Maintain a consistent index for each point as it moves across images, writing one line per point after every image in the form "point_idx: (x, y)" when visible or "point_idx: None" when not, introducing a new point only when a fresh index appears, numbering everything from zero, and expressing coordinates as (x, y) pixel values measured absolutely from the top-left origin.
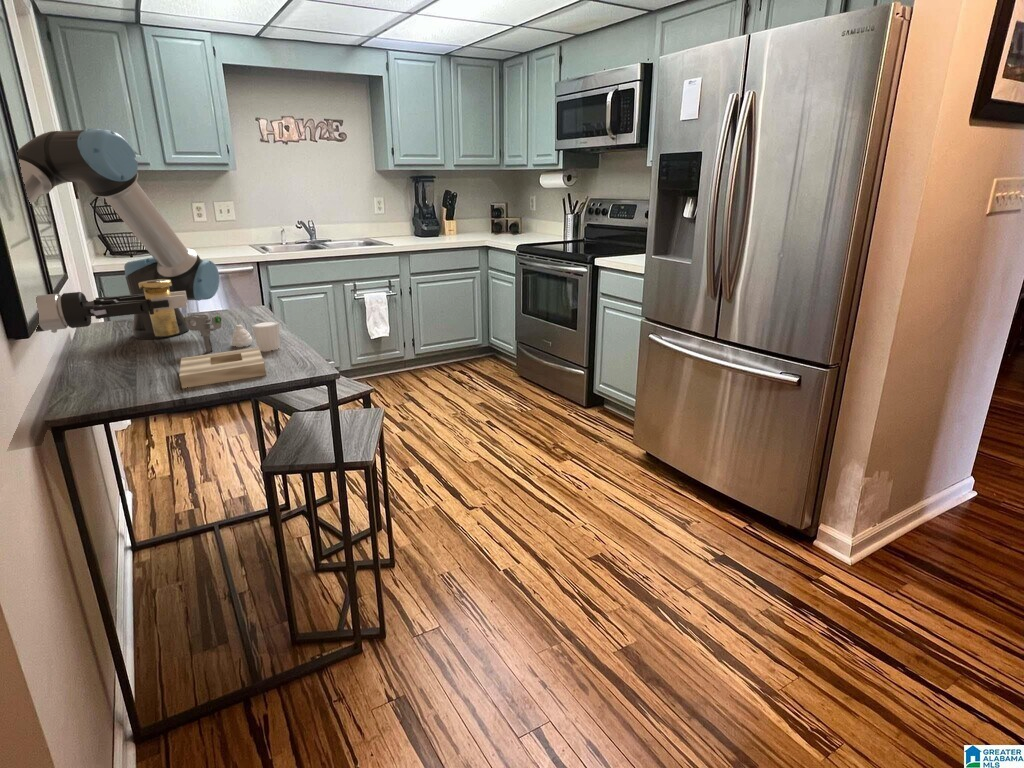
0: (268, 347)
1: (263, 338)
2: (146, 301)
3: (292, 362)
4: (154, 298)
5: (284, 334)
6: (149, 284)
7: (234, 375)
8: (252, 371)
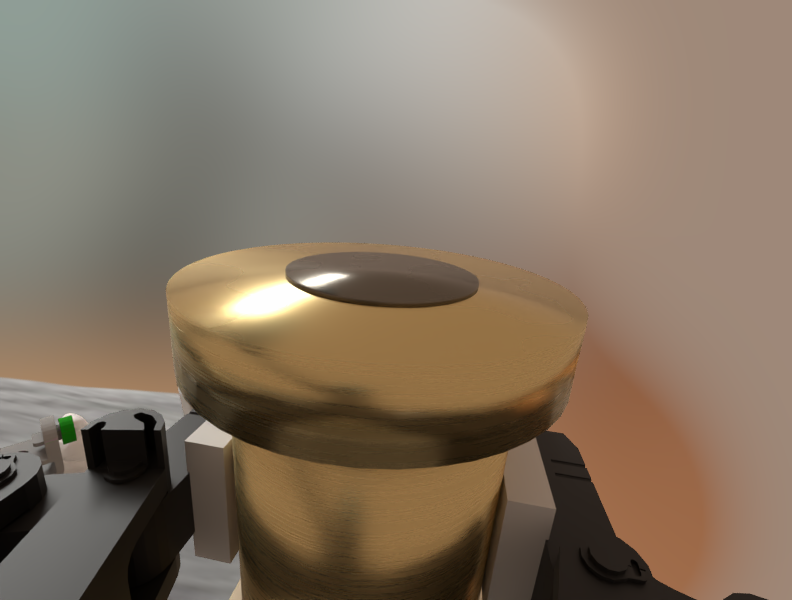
0: None
1: None
2: (756, 597)
3: None
4: (546, 484)
5: (131, 393)
6: (585, 320)
7: None
8: None
